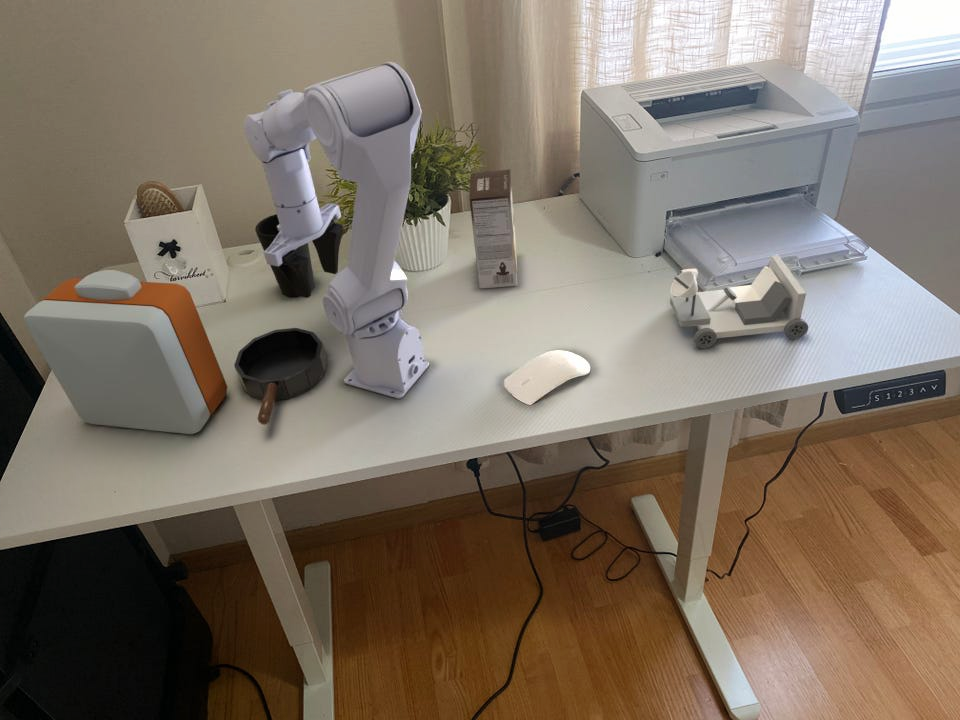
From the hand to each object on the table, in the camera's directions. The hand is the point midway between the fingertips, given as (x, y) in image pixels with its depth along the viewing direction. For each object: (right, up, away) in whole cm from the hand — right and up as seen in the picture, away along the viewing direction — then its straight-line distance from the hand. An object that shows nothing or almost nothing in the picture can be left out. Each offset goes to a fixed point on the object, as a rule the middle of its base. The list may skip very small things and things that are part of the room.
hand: (317, 283), depth 107 cm
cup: (-7, +1, +16) cm, 17 cm away
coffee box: (+27, +3, +14) cm, 30 cm away
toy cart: (+59, -6, -2) cm, 59 cm away
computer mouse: (+33, -14, -8) cm, 37 cm away
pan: (-4, -15, -5) cm, 17 cm away
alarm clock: (-21, -18, -6) cm, 28 cm away
